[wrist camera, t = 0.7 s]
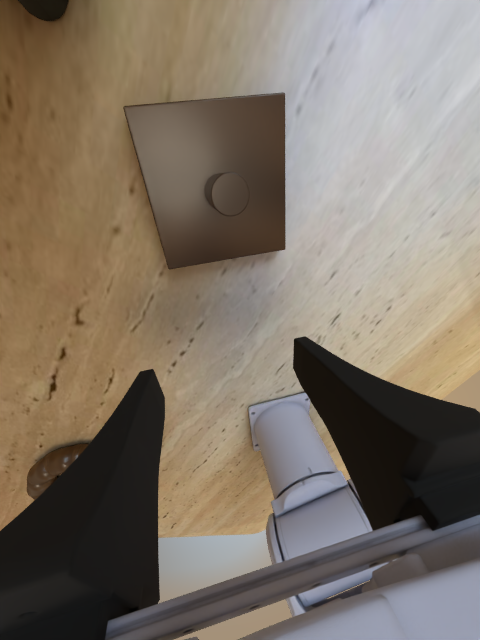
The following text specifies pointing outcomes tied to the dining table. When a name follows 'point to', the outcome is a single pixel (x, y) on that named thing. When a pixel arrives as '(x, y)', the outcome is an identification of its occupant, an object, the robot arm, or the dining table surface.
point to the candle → (45, 8)
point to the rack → (213, 175)
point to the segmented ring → (51, 468)
